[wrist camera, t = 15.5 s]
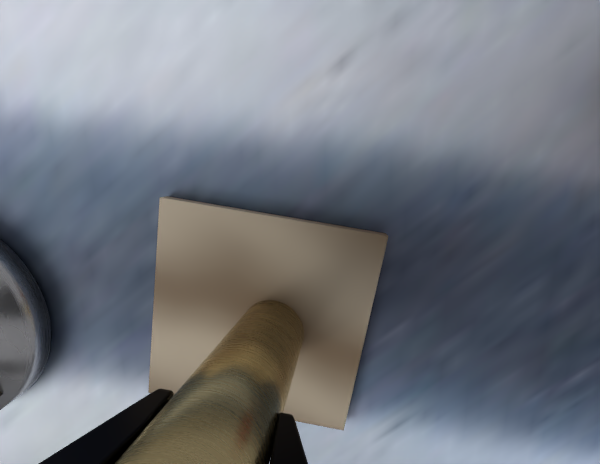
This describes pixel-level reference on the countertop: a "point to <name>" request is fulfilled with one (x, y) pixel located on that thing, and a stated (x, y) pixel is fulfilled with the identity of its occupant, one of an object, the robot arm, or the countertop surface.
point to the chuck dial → (20, 327)
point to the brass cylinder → (229, 396)
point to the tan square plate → (264, 295)
